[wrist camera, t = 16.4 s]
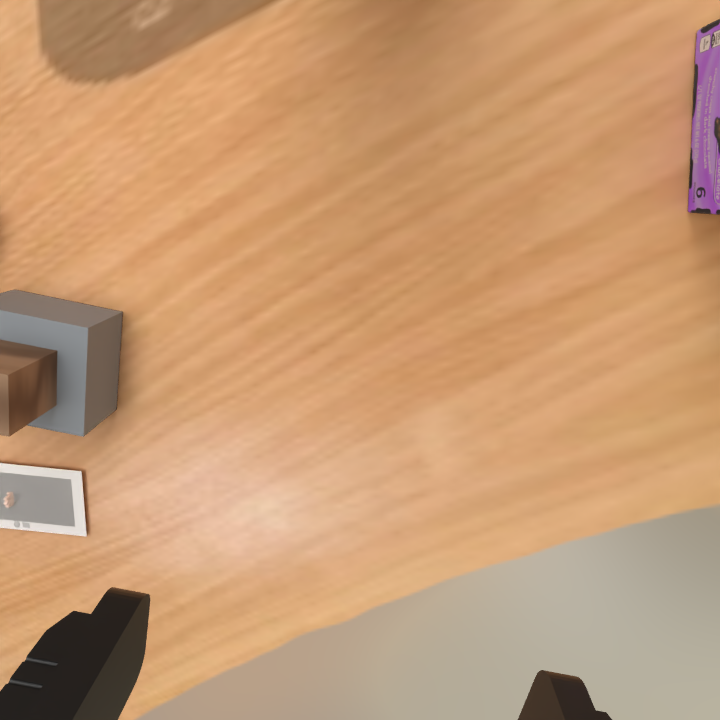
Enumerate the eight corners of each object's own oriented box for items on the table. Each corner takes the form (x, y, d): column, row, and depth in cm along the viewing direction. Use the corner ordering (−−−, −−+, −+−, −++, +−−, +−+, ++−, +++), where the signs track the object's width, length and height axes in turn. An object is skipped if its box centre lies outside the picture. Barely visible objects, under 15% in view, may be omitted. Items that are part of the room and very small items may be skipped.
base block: (14, 289, 48) (-35, 302, 42) (122, 311, 48) (88, 328, 42) (14, 388, 51) (-32, 413, 45) (116, 409, 51) (83, 436, 45)
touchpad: (-58, 451, 54) (-75, 461, 52) (87, 465, 54) (75, 476, 52) (-46, 515, 56) (-63, 528, 54) (91, 530, 56) (81, 542, 54)
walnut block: (-4, 338, 43) (-62, 361, 37) (57, 350, 43) (8, 374, 37) (-2, 394, 44) (-58, 423, 39) (56, 405, 44) (9, 436, 39)
